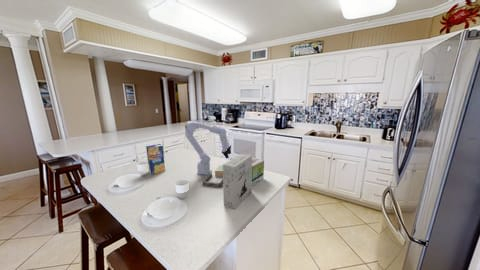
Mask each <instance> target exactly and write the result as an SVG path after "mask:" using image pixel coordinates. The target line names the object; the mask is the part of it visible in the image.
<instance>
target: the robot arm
mask: <svg viewBox="0 0 480 270" xmlns="http://www.w3.org/2000/svg"><path fill="white" fill-rule="evenodd" d="M199 129H204V130H207V131H209V133H212V134H217V135H218V136H219V139H220V144H221V148H222V150H221V154H222V155H223V156H224V157H225V159H229V155H231V154H232V150H231V149H232V145H230V144H231V143H230V142H229V140H228V136H227V130H226V129H225V128H223V127H221V126H216V125H215V124H211V125H208V124H204V123H201V122H198V121H192V120H188V121H186V123H185V125H184V131H185V132H184V133H185V134H184V135H185V138H186V139H187V140H188V141H189V143H190V144H191V146H192V147H193V148H194V150H195V151H196V153H197V155H199V159H200V161H198V162H197V174H199V175H206V176H207V175H208V176H209V174H210V173H212V169H211V168H210V167H211V166H210V164H211V163H210V161H211V157H210V156H209V155H208V154H207V153H206V152H205V150H204V149H203V148H202V147H201V145H200V144H199V142H198V141H197V139H196V138H195V137H194V133H195V131H196V130H199Z"/></svg>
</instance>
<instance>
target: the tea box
mask: <svg viewBox="0 0 480 270" xmlns="http://www.w3.org/2000/svg"><path fill="white" fill-rule="evenodd" d="M264 171H265V160H261V159H258V158H254V157H252V187H253V186H254V184H255V185H256V184H258V183H259V182H260V181H262V180H263V179H264ZM261 179H262V180H261ZM258 181H259V182H258Z"/></svg>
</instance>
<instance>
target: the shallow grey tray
mask: <svg viewBox="0 0 480 270" xmlns="http://www.w3.org/2000/svg"><path fill="white" fill-rule="evenodd" d="M212 177H213V173H212V172H210V173H209V174H208V176H207V177H205V178H204V179H203V181H202V182H201V185H202V186H204V187H212V188H219V189H221V188H222V187H223V178H222V179H221V181H220V182H219V183H218V182H211V181H210V180H211V178H212Z"/></svg>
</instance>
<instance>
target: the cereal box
mask: <svg viewBox="0 0 480 270" xmlns="http://www.w3.org/2000/svg"><path fill="white" fill-rule="evenodd" d="M252 159H253V155H251V154H246V153H240V154H239V155H237V156H235V157H234V158H232V159H230V160H228V161H227V162H225V163H224V164H222V165H223V177H222V179H223V185H222V187H223V206H225V207H227V206H228V207H227V208H230V207H231V209H233V208H234V210H236V209H237V208H238V206H239V205H240V204H241V203H242V202H243V201H244V200H245V199H246V198H247V197H248V196H249V195H250V194H251V193H252V187H253V186H252ZM249 193H250V194H249ZM248 194H249V195H248ZM247 195H248V196H247ZM246 196H247V197H246ZM245 197H246V198H245Z"/></svg>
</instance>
